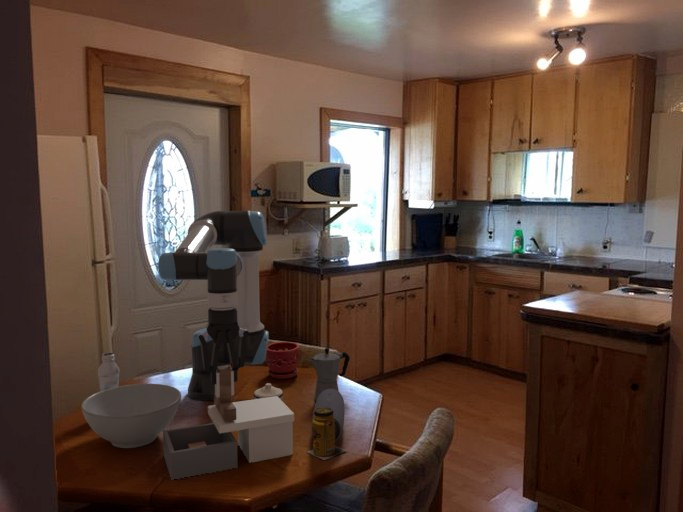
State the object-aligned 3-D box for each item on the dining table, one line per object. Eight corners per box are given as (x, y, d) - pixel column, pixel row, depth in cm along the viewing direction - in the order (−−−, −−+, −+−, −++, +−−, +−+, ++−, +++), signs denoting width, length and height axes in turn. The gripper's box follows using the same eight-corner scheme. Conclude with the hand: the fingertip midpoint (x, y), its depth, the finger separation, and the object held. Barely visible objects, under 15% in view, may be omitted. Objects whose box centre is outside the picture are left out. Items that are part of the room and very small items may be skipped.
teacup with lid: (276, 427, 173) (275, 390, 172) (249, 424, 176) (248, 387, 175) (291, 413, 185) (291, 378, 184) (265, 410, 187) (265, 375, 186)
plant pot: (269, 370, 231) (269, 341, 230) (302, 371, 229) (301, 341, 228) (262, 380, 218) (261, 349, 217) (296, 381, 216) (296, 350, 215)
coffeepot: (315, 406, 190) (315, 353, 189) (304, 398, 199) (303, 347, 197) (355, 399, 198) (356, 348, 196) (342, 391, 206) (343, 342, 204)
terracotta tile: (204, 441, 156) (204, 449, 157) (187, 444, 154) (188, 452, 155) (207, 447, 152) (207, 456, 152) (190, 450, 150) (190, 459, 151)
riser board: (208, 447, 159) (207, 406, 158) (277, 435, 167) (277, 395, 166) (220, 471, 146) (219, 425, 144) (294, 456, 154) (294, 413, 152)
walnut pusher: (214, 403, 158) (213, 361, 157) (225, 401, 159) (224, 359, 158) (224, 421, 145) (223, 375, 144) (236, 419, 147) (235, 374, 145)
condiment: (306, 452, 156) (306, 409, 155) (329, 443, 162) (329, 402, 161) (323, 461, 151) (323, 417, 150) (347, 451, 157) (347, 409, 156)
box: (163, 455, 154) (163, 430, 154) (224, 445, 161) (224, 421, 160) (171, 480, 141) (170, 453, 140) (237, 468, 147) (237, 441, 147)
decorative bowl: (140, 415, 183) (139, 378, 182) (201, 432, 170) (200, 393, 168) (62, 446, 160) (60, 404, 159) (126, 469, 147) (124, 423, 145)
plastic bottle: (126, 413, 184) (123, 352, 182) (109, 420, 178) (107, 358, 176) (111, 410, 187) (109, 350, 185) (94, 417, 181) (92, 355, 179)
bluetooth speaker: (315, 417, 181) (315, 386, 180) (345, 417, 181) (345, 387, 180) (309, 449, 159) (309, 414, 158) (343, 449, 158) (343, 414, 157)
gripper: (193, 312, 143) (196, 403, 145) (256, 307, 149) (257, 395, 152) (189, 307, 150) (191, 394, 152) (249, 302, 156) (250, 386, 159)
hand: (224, 394), depth 152 cm, fingers closed on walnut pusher, 3 cm apart
